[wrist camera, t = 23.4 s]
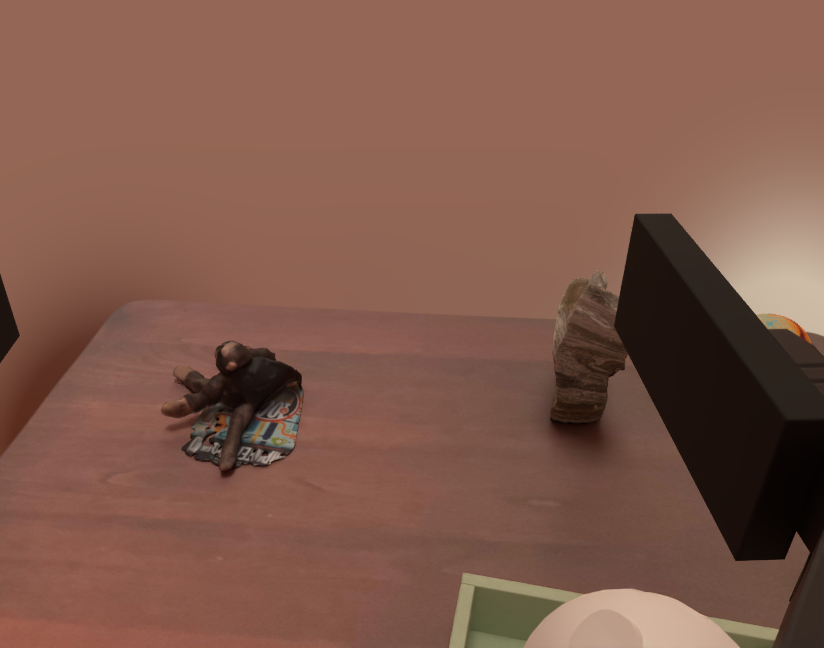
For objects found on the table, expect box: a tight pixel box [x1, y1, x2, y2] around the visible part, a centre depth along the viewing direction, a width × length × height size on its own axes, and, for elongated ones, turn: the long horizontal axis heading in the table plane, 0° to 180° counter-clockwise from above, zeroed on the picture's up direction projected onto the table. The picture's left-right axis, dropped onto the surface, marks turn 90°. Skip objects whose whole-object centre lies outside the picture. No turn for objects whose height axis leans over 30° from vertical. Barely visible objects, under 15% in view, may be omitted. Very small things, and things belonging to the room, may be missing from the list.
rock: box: [550, 270, 628, 424], centre depth 59 cm, size 13×6×15 cm, turn 159°
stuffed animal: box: [161, 341, 304, 471], centre depth 62 cm, size 12×10×12 cm
